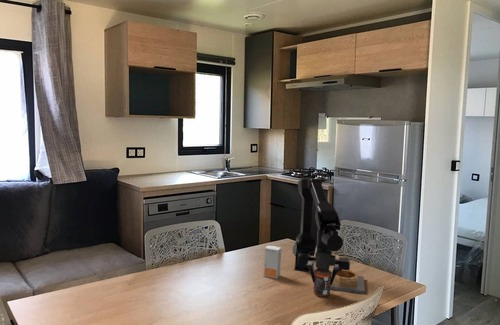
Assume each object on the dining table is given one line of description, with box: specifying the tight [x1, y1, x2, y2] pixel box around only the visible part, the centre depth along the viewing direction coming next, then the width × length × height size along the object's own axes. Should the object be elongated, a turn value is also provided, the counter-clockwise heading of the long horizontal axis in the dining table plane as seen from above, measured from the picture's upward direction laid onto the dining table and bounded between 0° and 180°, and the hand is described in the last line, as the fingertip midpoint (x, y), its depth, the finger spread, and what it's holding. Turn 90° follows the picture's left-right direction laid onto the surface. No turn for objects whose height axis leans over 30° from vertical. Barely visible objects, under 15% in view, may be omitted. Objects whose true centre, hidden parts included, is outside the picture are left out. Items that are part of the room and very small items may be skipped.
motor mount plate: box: [330, 270, 366, 295], centre depth 159 cm, size 15×15×4 cm
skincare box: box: [262, 245, 282, 280], centre depth 164 cm, size 6×4×12 cm
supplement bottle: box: [313, 268, 331, 298], centre depth 148 cm, size 6×6×11 cm
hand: (322, 283), depth 148 cm, fingers closed on supplement bottle, 6 cm apart
